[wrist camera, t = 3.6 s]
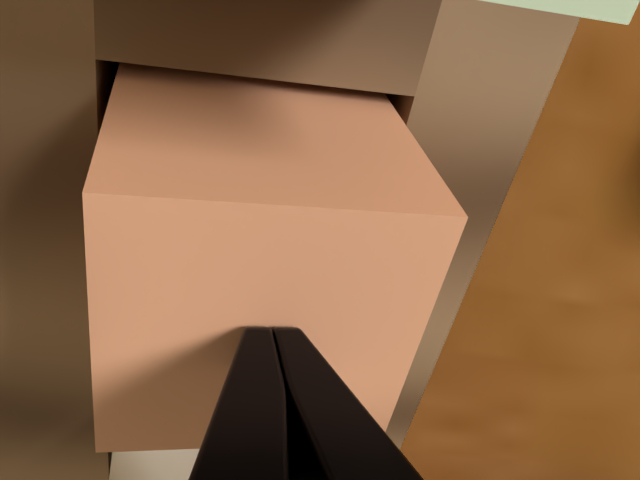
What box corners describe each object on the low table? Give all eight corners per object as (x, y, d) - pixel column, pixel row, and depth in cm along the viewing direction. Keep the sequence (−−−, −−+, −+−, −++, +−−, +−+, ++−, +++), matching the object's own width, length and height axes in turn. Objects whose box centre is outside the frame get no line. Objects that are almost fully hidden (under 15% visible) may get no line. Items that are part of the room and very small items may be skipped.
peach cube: (331, 272, 15) (381, 441, 11) (123, 265, 14) (95, 452, 10) (377, 83, 12) (468, 217, 8) (122, 53, 11) (82, 192, 7)
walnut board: (354, 457, 22) (370, 520, 20) (31, 472, 19) (13, 546, 17) (713, -558, 8) (867, -667, 6) (-198, -992, 6) (-395, -1398, 4)
